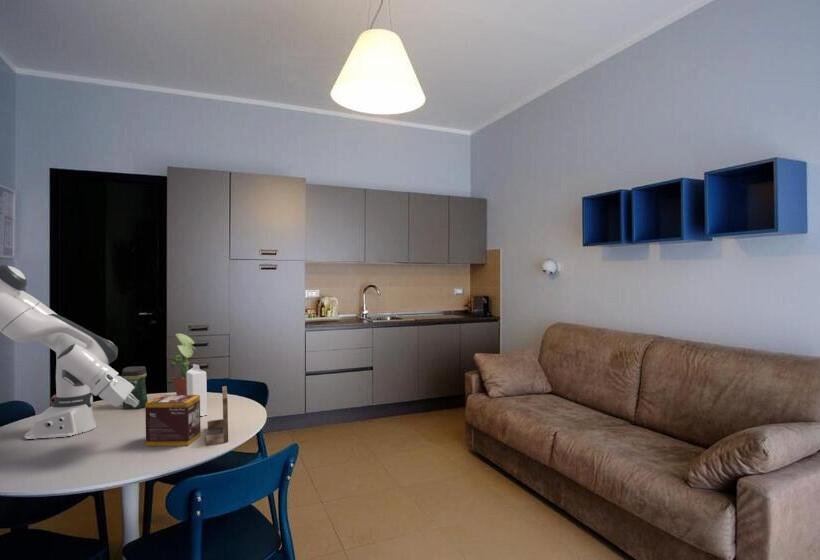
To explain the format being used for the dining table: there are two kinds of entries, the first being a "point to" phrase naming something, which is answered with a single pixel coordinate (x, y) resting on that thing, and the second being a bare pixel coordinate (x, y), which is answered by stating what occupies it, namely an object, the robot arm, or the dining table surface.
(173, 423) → the supplement box
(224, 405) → the display stand
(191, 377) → the milk
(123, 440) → the dining table surface
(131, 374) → the coffee jar
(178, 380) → the potted plant
